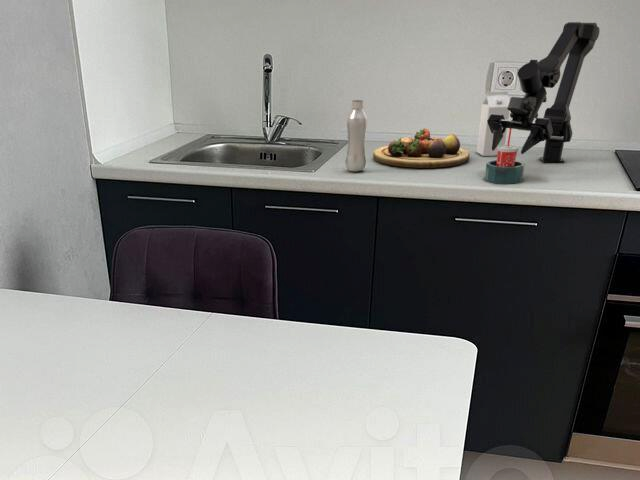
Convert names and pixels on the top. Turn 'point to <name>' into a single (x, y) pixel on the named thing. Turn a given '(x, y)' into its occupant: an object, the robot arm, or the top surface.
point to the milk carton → (491, 105)
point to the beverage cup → (506, 154)
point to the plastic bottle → (356, 137)
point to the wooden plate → (423, 151)
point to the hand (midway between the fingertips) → (506, 151)
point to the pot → (504, 173)
